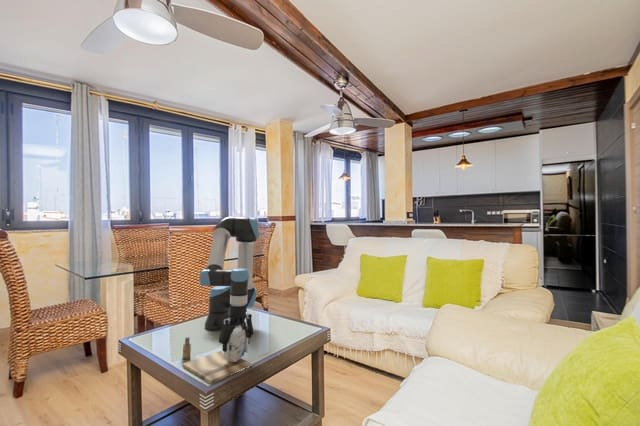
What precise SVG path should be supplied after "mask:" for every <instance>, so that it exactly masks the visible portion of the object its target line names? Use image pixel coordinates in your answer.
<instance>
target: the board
mask: <svg viewBox="0 0 640 426" xmlns="http://www.w3.org/2000/svg"><path fill="white" fill-rule="evenodd" d="M223 356H224V351H223V350H220V351H216V352H213V353H211V354H208V355H205V356H202V357H198V358H195V359H192V360H190V361H189V360H188V361H187V362H183V363H182V367H184V368H185V369H187V370H188V371H190V372H192V373H193V374H194V375H196V376H198V377H199V378H200V379H202V380H204V381H205V380H206V381H205V382H207V381H208V383H209V382H210V383H211V384H213V383H212V382H214V383H216V382H219V381H221V380H223V379H222V378H224V377H226V376H229V375H231V374H233V373H235V372H237V371H239V370H241V369H243V368H246V367H248V366H250V365H252V364H253V363H251V362H250V361H247V360H245V359H243V358H242V357H241V358H240V359H239V360H238V361H237V362H231V361H226V359H225V358H223ZM252 366H253V365H252ZM231 376H232V375H231ZM229 377H230V376H229ZM226 378H227V377H226ZM220 379H221V380H220ZM224 379H225V378H224ZM218 380H219V381H218ZM215 381H216V382H215ZM210 383H209V384H210Z"/></svg>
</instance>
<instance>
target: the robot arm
mask: <svg viewBox="0 0 640 426" xmlns="http://www.w3.org/2000/svg"><path fill="white" fill-rule="evenodd" d="M259 227H260V226H259V220H258V218H257V217H256V218H255V217H250V216H228V217H227V216H226V217H224V218H223V219H221V220H220V221H219V222H217V224H216V225H215V227H214V228H213V229H212V234H211V235H212V243H211V248H210V252H209V256H208V261H207V265H206V269H201V271H200V273H199V277H198V278H199V285H200V286H203V287H211V288H210V290H209V296H208V299H209V300H208V315H207V317H206V319H205V322H204V329H206V330H208V331H220V334H219V338H218V343H219V344H222V350H223V351H224V356H223V358H225V359H226V360H228V359H229V344H228V341H229V339H230V337H231V334H232V332H233V330H234V329H236V328H237V327H239V326H240V328H242V329H245V332H246V336H245V353H246V354H248V352H249V344H250V340H251V339H250V338H252V336H253V335H254V327H253V321H252V316H253V315H252V314H251V313H248V309H253V308H254V307H255V304H256V303H255V302H256V299H257V292H258V289H257V287H255V284H254V283H253V274H254V272H253V271H254V269H253V267H254V247H255V243H256V242H257V240H258V239H259V238H260V228H259ZM231 238H235V241H236V242H237V243H238V245H237V249H238V250H237V251H238V253H237V268H234V269H224V265H225V259H226V253H227V248H228V241H229V240H230V239H231ZM222 350H221V351H222Z"/></svg>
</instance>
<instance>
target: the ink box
mask: <svg viewBox="0 0 640 426" xmlns="http://www.w3.org/2000/svg"><path fill="white" fill-rule="evenodd" d="M245 337H246V332H245V329H242V327H240V328H239V327H236V328H235V329H234V330H233V332H232V334H231V337H230V339H229V341H228V344H229V359H228V360H226V361H231V362H237V361H238V360H239V359H240V358H241V359H242V357H244V355H245V353H246V352H245Z"/></svg>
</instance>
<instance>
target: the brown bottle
mask: <svg viewBox="0 0 640 426" xmlns="http://www.w3.org/2000/svg"><path fill="white" fill-rule="evenodd" d="M184 339H185V340H184V343H183V345H182V360H184V361H186V360H190V359H191V350H192V348H191V347H192V344H191V343H190V340H191V338H190V337H188V336H186V337H185V338H184Z"/></svg>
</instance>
